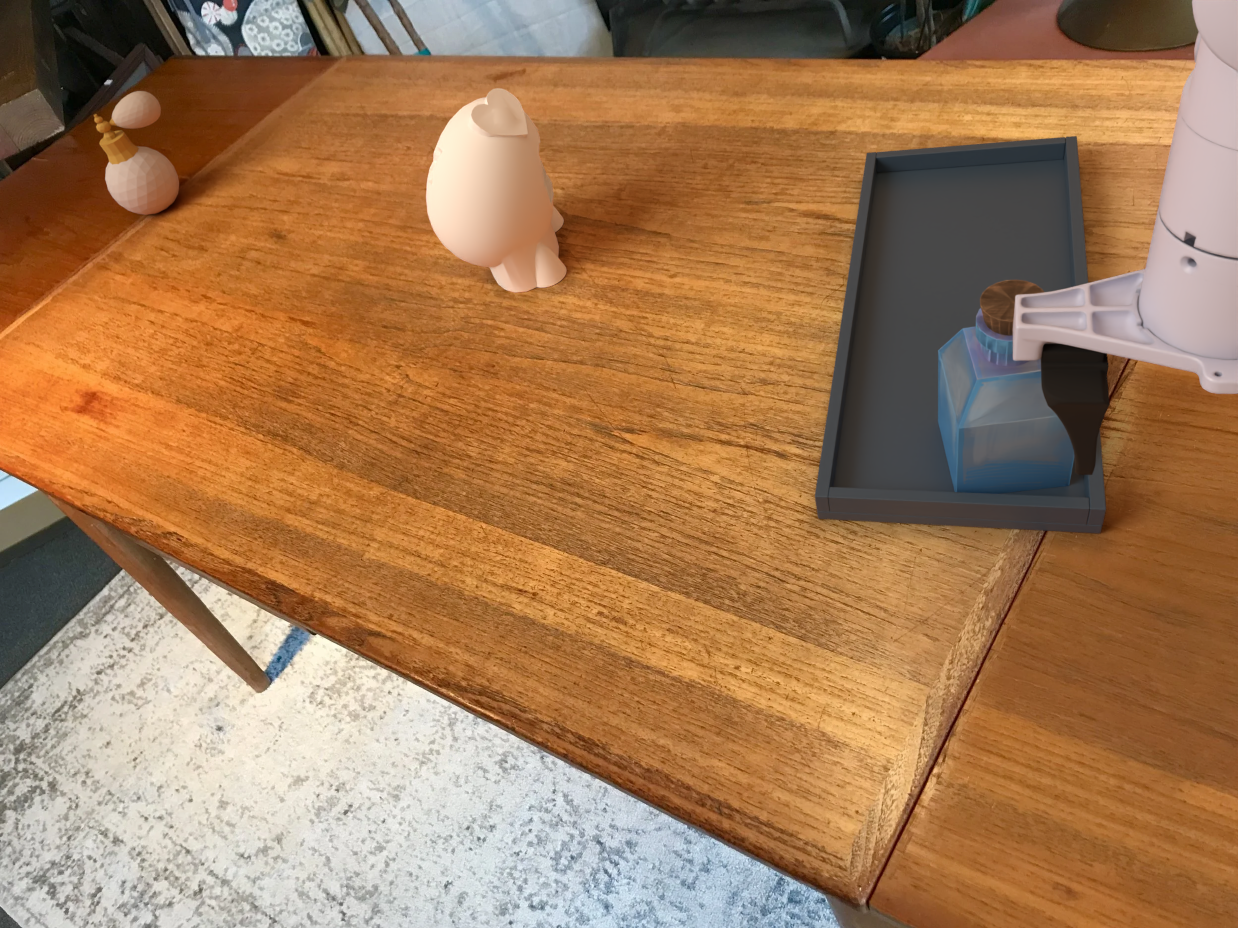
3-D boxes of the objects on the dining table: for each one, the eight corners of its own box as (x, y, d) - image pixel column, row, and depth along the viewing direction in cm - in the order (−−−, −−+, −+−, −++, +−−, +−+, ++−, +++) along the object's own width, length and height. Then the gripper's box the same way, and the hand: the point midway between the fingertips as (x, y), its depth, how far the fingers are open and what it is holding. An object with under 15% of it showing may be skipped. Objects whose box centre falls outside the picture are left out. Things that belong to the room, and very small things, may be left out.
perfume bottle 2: (1042, 407, 58) (1062, 252, 49) (1069, 485, 54) (1095, 331, 45) (938, 421, 59) (938, 272, 50) (956, 498, 55) (960, 350, 46)
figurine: (456, 315, 80) (380, 163, 69) (459, 239, 88) (391, 92, 77) (581, 281, 79) (523, 121, 68) (573, 207, 86) (520, 52, 75)
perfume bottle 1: (119, 218, 109) (48, 126, 100) (185, 171, 113) (121, 78, 104) (151, 231, 105) (79, 136, 96) (217, 182, 109) (154, 86, 100)
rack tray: (1073, 161, 73) (1076, 135, 71) (1100, 534, 52) (1106, 509, 50) (868, 176, 78) (866, 152, 77) (817, 519, 57) (814, 496, 56)
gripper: (1024, 292, 32) (1003, 523, 42) (1567, 277, 27) (1397, 543, 37) (1022, 171, 36) (1003, 408, 46) (1493, 139, 31) (1358, 412, 41)
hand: (1177, 460), depth 42 cm, fingers open, 7 cm apart
